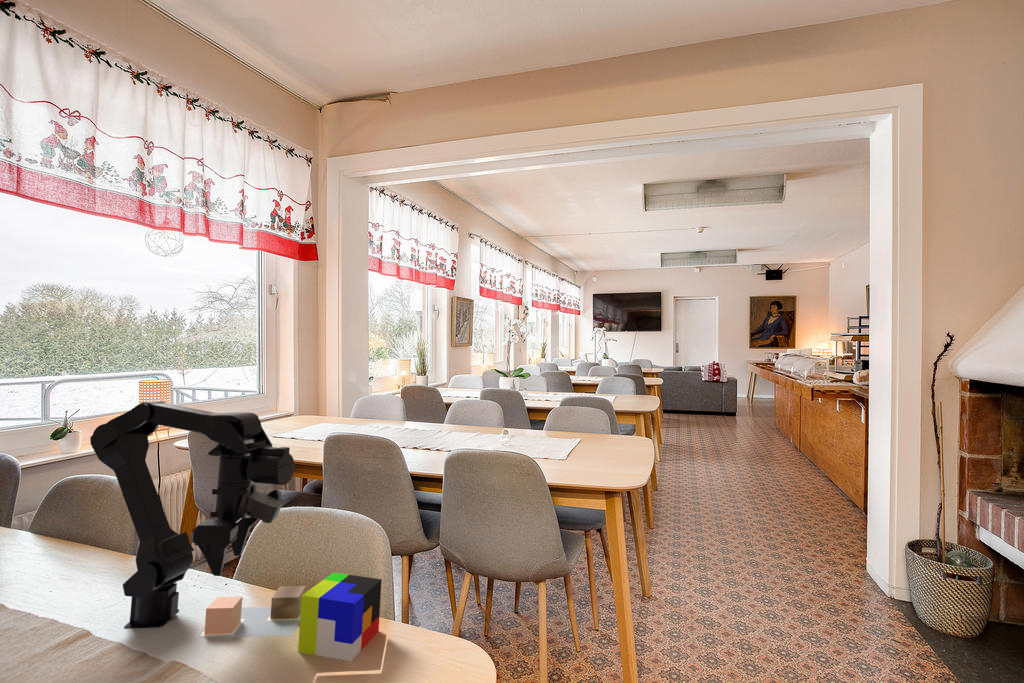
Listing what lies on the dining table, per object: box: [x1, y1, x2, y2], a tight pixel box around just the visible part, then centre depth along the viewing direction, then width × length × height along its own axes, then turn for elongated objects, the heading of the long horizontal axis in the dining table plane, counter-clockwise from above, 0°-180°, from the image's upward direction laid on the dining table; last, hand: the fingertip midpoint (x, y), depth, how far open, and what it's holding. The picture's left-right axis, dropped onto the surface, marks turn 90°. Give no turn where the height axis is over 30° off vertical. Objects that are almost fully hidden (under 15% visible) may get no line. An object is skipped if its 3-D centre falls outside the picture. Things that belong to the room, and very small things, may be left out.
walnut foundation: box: [270, 585, 306, 619], centre depth 98 cm, size 5×5×4 cm
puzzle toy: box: [297, 572, 383, 662], centre depth 89 cm, size 10×10×10 cm
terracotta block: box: [204, 595, 243, 634], centre depth 92 cm, size 4×4×4 cm
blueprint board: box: [195, 606, 301, 639], centre depth 95 cm, size 16×12×1 cm
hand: (227, 565), depth 93 cm, fingers open, 9 cm apart
